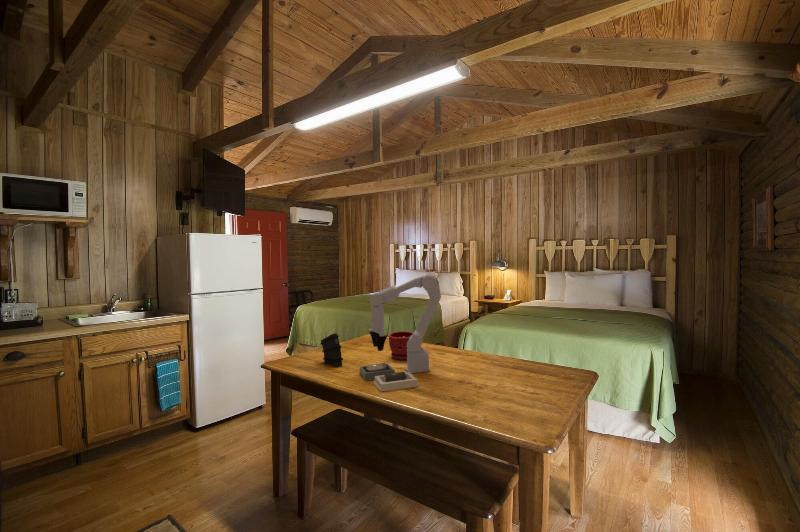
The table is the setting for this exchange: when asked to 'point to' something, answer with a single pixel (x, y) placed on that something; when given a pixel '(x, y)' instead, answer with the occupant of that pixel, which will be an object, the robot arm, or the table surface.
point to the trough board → (395, 383)
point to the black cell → (395, 377)
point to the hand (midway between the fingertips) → (378, 348)
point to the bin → (371, 374)
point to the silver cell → (376, 367)
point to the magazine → (332, 350)
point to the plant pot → (399, 344)
